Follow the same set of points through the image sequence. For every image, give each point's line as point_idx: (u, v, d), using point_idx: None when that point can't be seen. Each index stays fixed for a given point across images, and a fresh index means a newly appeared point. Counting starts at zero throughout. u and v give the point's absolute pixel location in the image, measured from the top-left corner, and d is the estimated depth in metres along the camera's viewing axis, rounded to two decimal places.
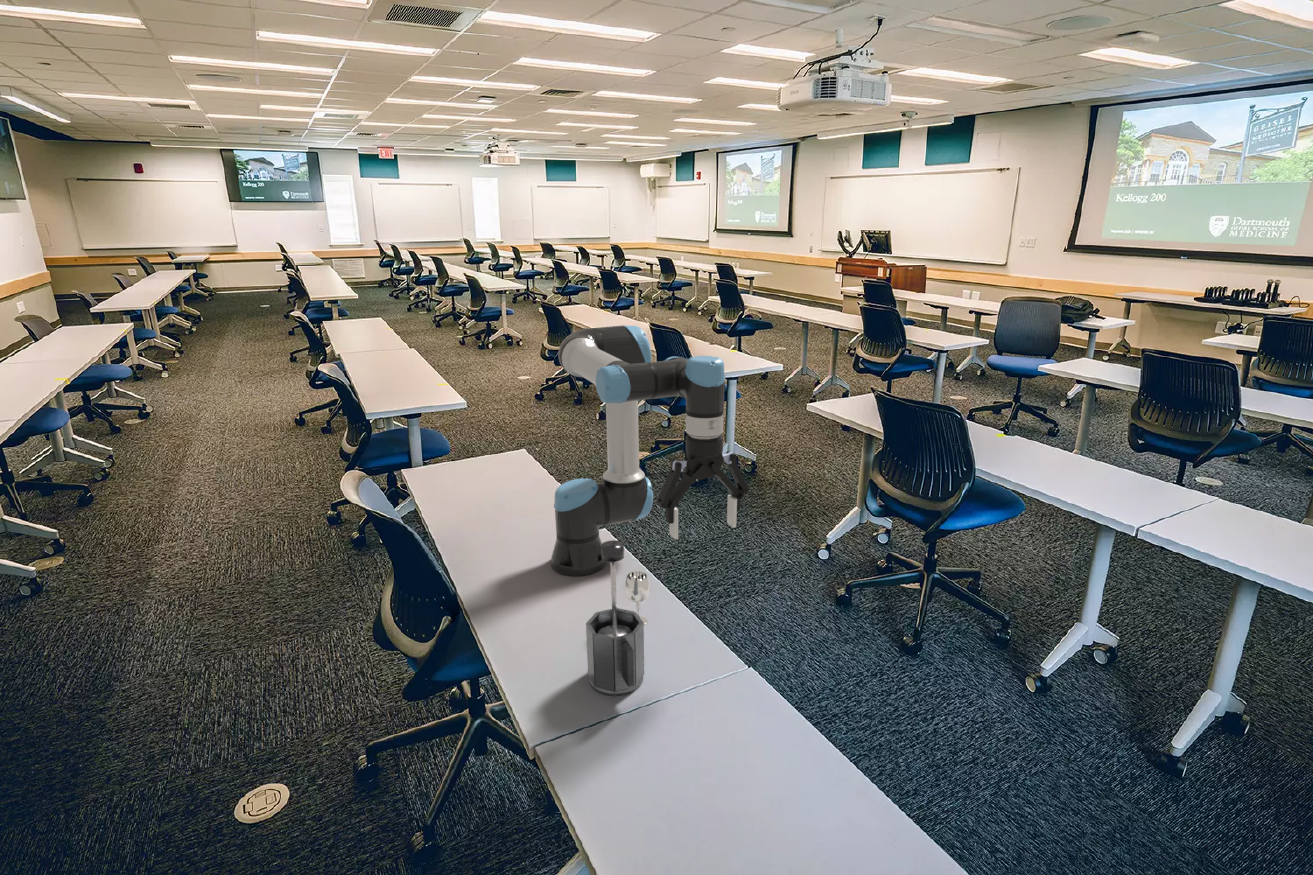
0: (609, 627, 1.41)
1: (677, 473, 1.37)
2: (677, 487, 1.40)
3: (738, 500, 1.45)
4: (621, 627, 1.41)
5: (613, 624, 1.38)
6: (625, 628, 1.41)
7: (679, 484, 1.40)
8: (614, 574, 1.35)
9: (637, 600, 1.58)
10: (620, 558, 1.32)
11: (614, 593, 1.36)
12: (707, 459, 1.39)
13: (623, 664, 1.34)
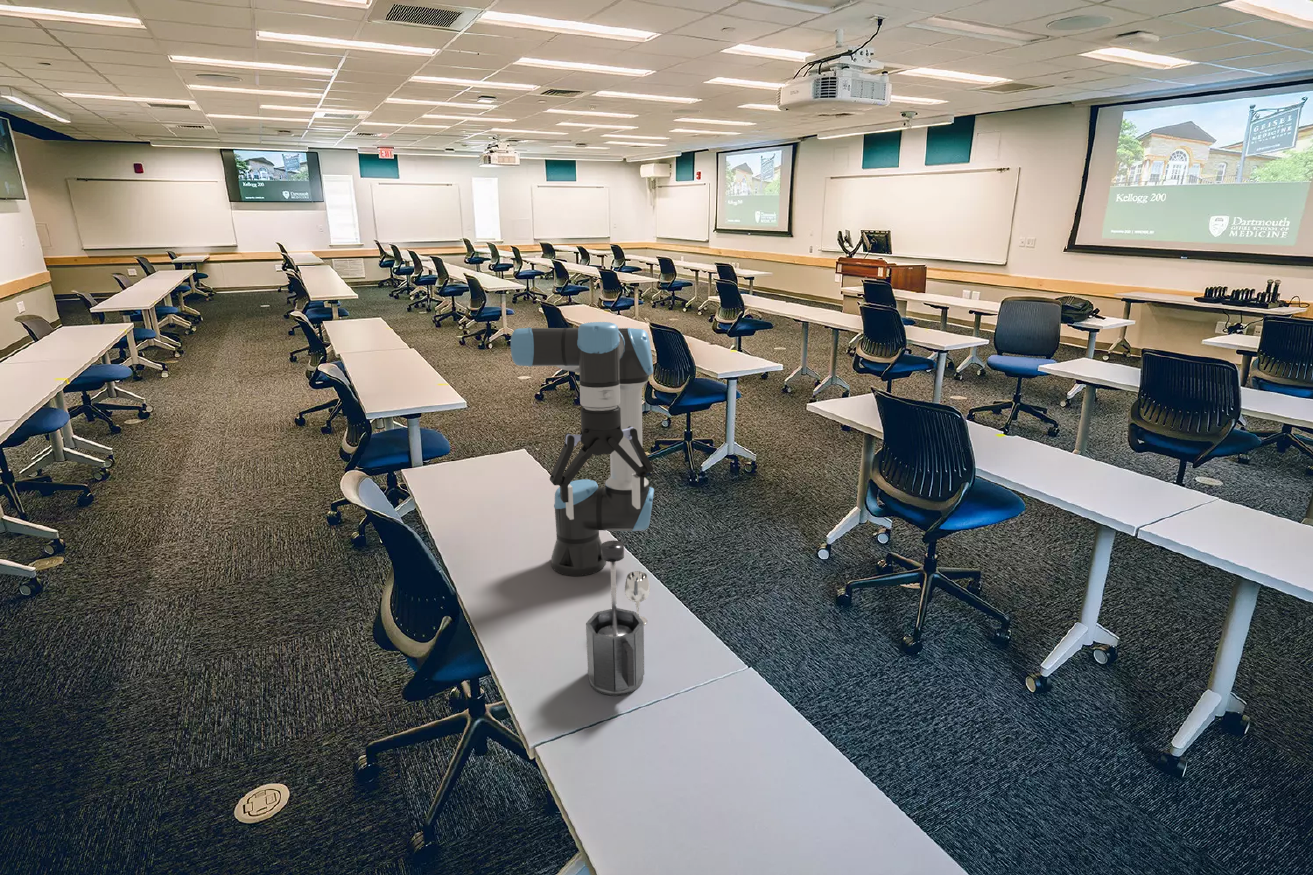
0: (609, 627, 1.41)
1: (569, 447, 1.27)
2: (572, 463, 1.30)
3: (642, 479, 1.35)
4: (621, 627, 1.41)
5: (613, 624, 1.38)
6: (625, 628, 1.41)
7: (574, 460, 1.30)
8: (614, 574, 1.35)
9: (637, 600, 1.58)
10: (620, 558, 1.32)
11: (614, 593, 1.36)
12: (604, 433, 1.29)
13: (623, 664, 1.34)
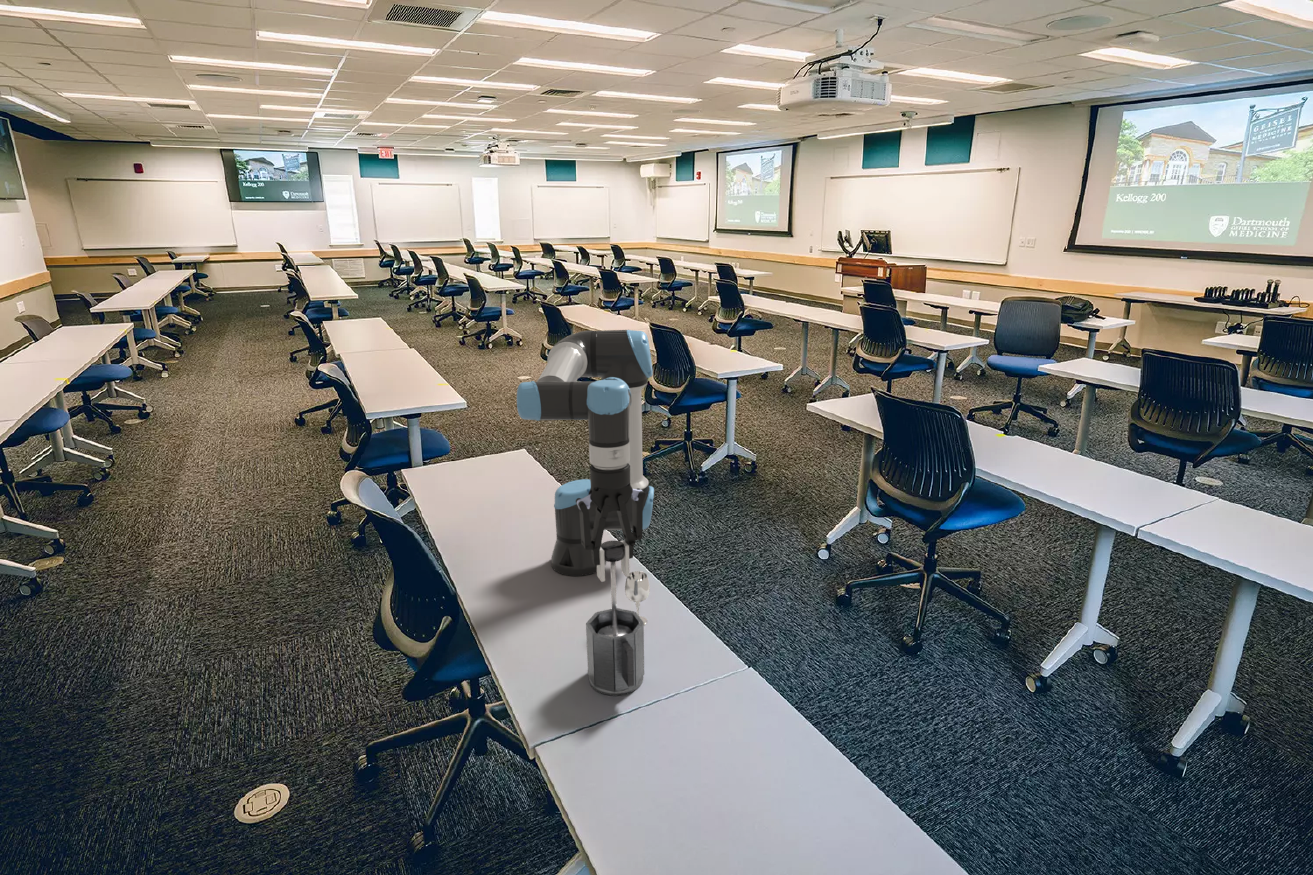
0: (609, 627, 1.41)
1: (585, 513, 1.28)
2: (594, 526, 1.31)
3: (631, 547, 1.34)
4: (621, 627, 1.41)
5: (613, 624, 1.38)
6: (625, 628, 1.41)
7: (595, 522, 1.31)
8: (614, 574, 1.35)
9: (637, 600, 1.58)
10: (620, 558, 1.32)
11: (614, 593, 1.36)
12: (613, 490, 1.29)
13: (623, 664, 1.34)
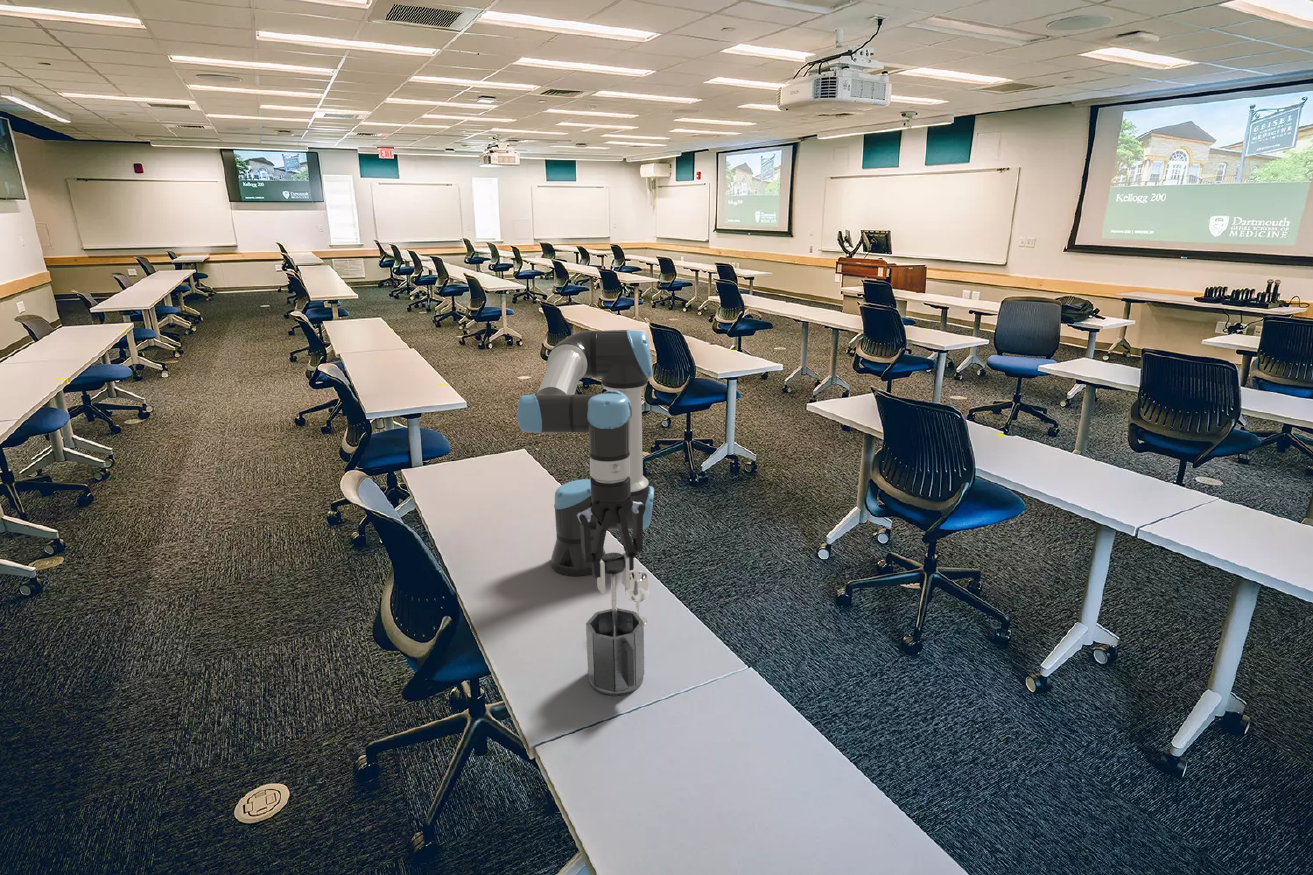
0: None
1: (585, 525, 1.28)
2: (595, 538, 1.32)
3: (631, 559, 1.35)
4: None
5: (613, 635, 1.39)
6: None
7: (596, 535, 1.32)
8: (614, 586, 1.35)
9: (637, 600, 1.58)
10: (620, 570, 1.33)
11: (614, 605, 1.37)
12: (614, 503, 1.30)
13: (623, 664, 1.34)
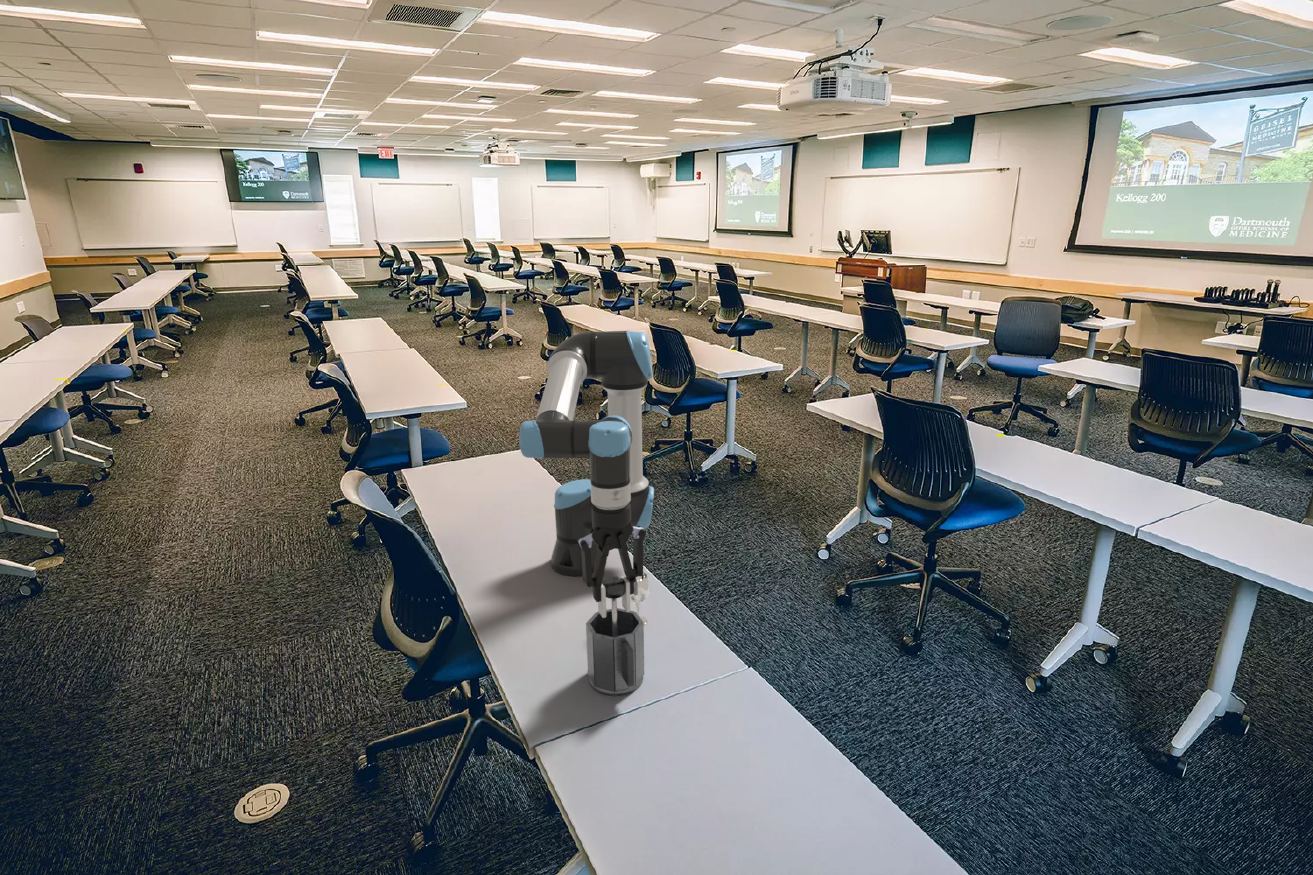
0: None
1: (586, 551, 1.30)
2: (596, 563, 1.33)
3: (632, 583, 1.37)
4: None
5: None
6: None
7: (596, 560, 1.33)
8: (615, 610, 1.37)
9: (637, 600, 1.58)
10: (621, 595, 1.35)
11: (615, 628, 1.38)
12: (614, 529, 1.31)
13: (623, 664, 1.34)
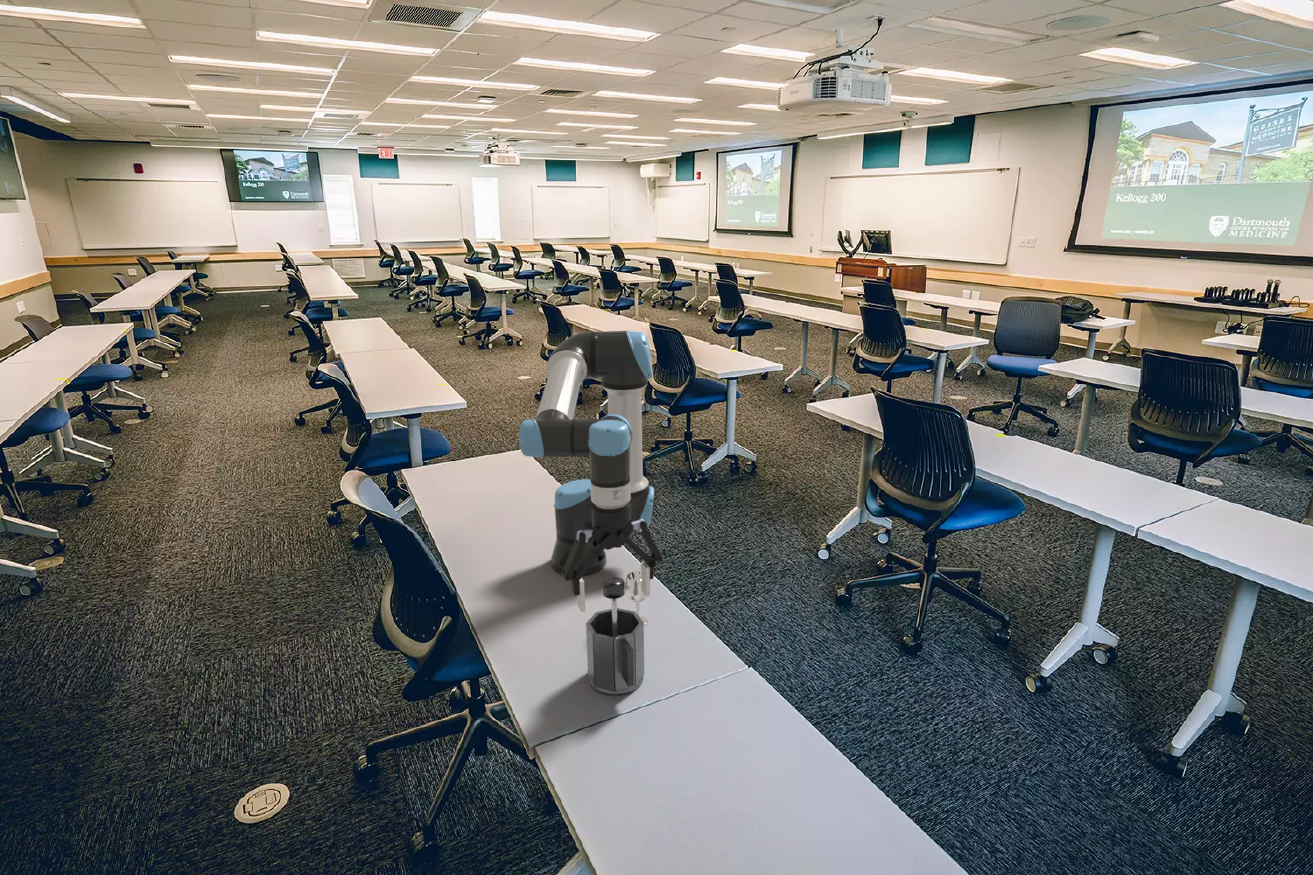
0: None
1: (581, 544, 1.29)
2: (583, 557, 1.32)
3: (651, 568, 1.38)
4: None
5: None
6: None
7: (585, 554, 1.32)
8: (615, 610, 1.37)
9: (637, 600, 1.58)
10: (621, 595, 1.35)
11: (615, 628, 1.38)
12: (614, 528, 1.31)
13: (623, 664, 1.34)
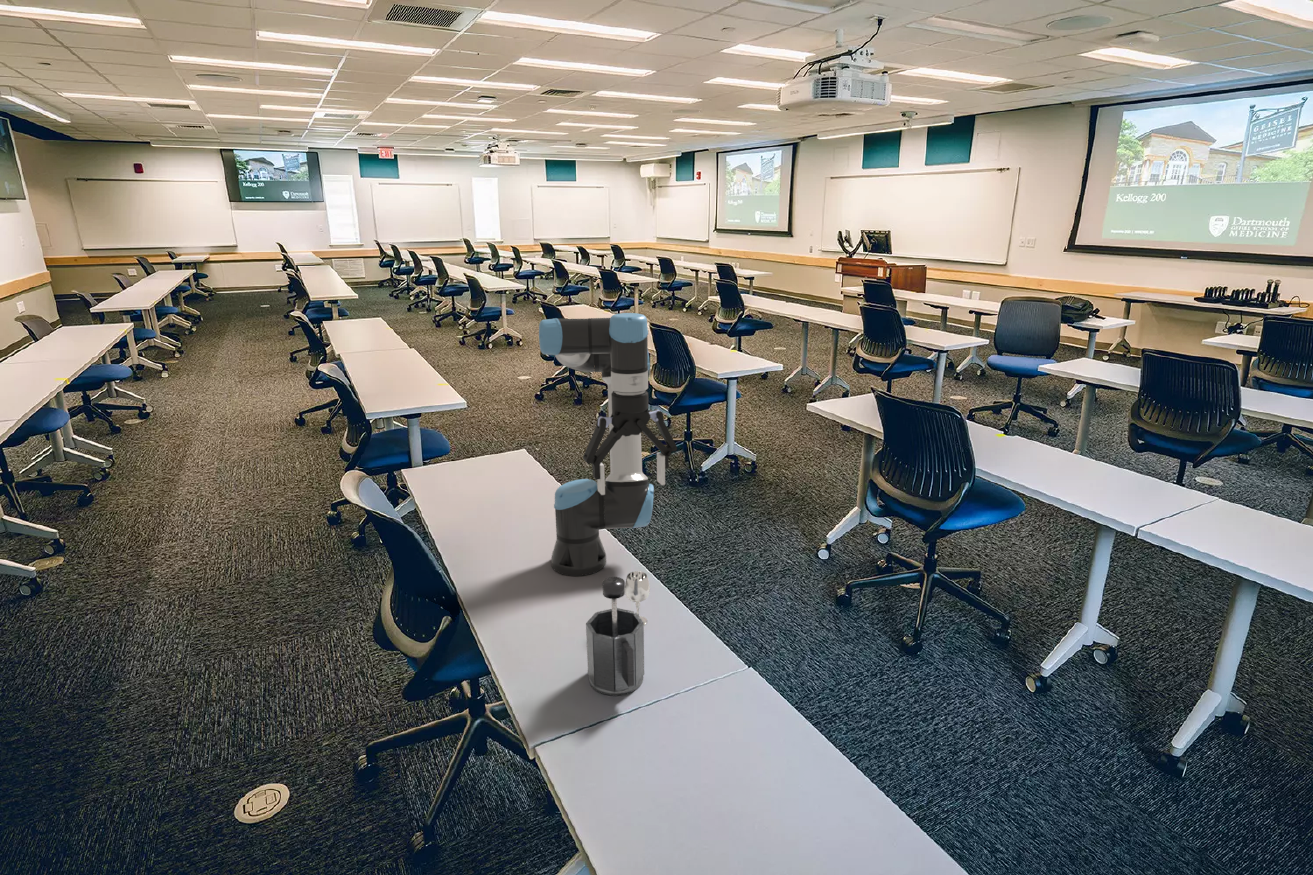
0: None
1: (602, 429, 1.39)
2: (603, 443, 1.42)
3: (666, 458, 1.47)
4: None
5: None
6: None
7: (605, 440, 1.42)
8: (615, 610, 1.37)
9: (637, 600, 1.58)
10: (621, 595, 1.35)
11: (615, 628, 1.38)
12: (633, 416, 1.41)
13: (623, 664, 1.34)
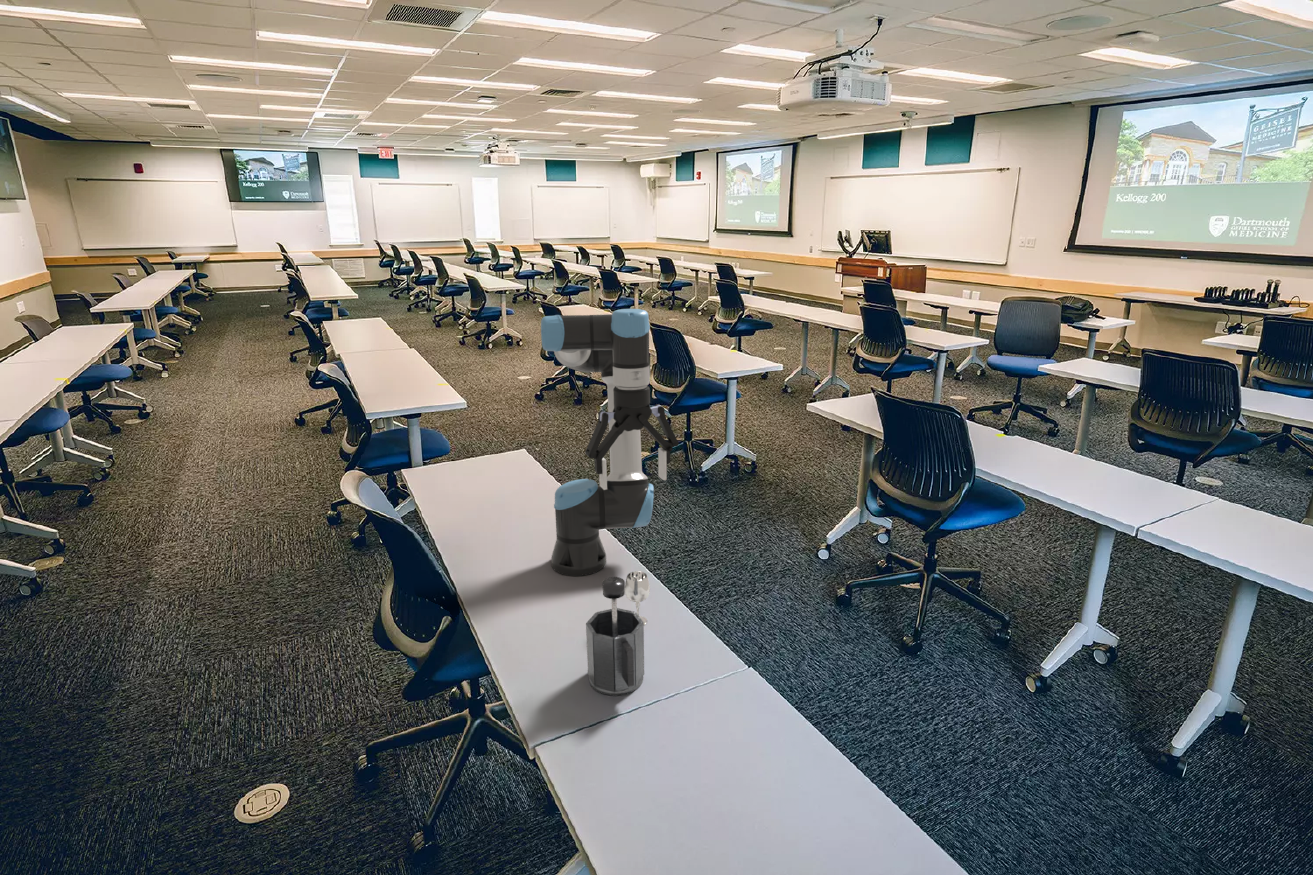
0: None
1: (604, 424, 1.40)
2: (605, 438, 1.43)
3: (668, 453, 1.48)
4: None
5: None
6: None
7: (607, 435, 1.43)
8: (615, 610, 1.37)
9: (637, 600, 1.58)
10: (621, 595, 1.35)
11: (615, 628, 1.38)
12: (634, 411, 1.42)
13: (623, 664, 1.34)
